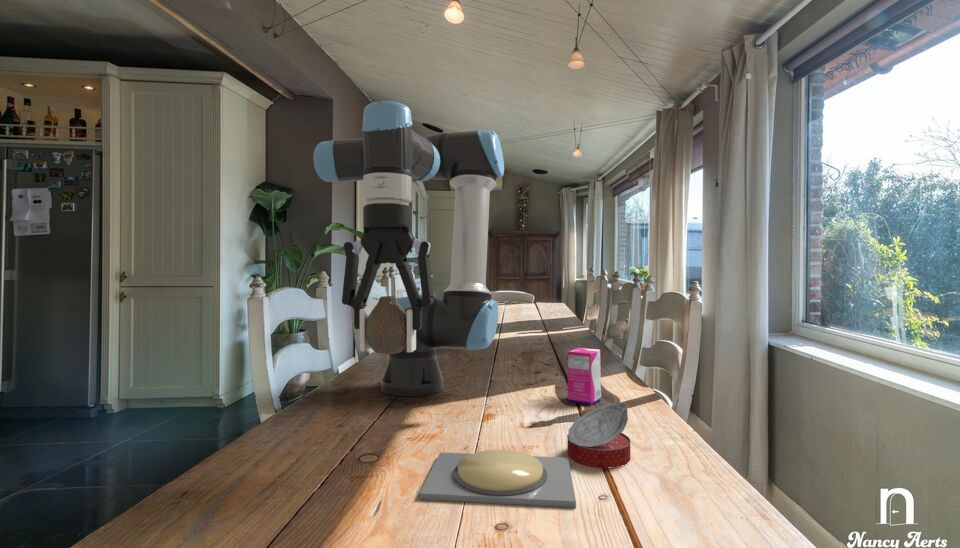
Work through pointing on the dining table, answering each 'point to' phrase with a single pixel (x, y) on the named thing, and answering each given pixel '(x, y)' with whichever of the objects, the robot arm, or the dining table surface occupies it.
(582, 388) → the supplement box
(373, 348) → the vase
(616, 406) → the canned food
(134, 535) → the dining table surface
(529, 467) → the board
